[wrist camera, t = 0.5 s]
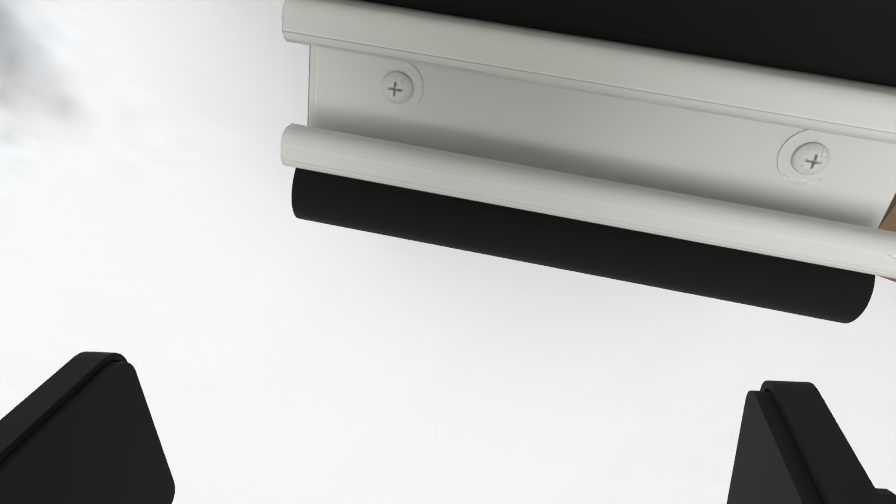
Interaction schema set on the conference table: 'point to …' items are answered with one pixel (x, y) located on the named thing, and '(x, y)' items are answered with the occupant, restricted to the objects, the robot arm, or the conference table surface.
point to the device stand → (613, 138)
